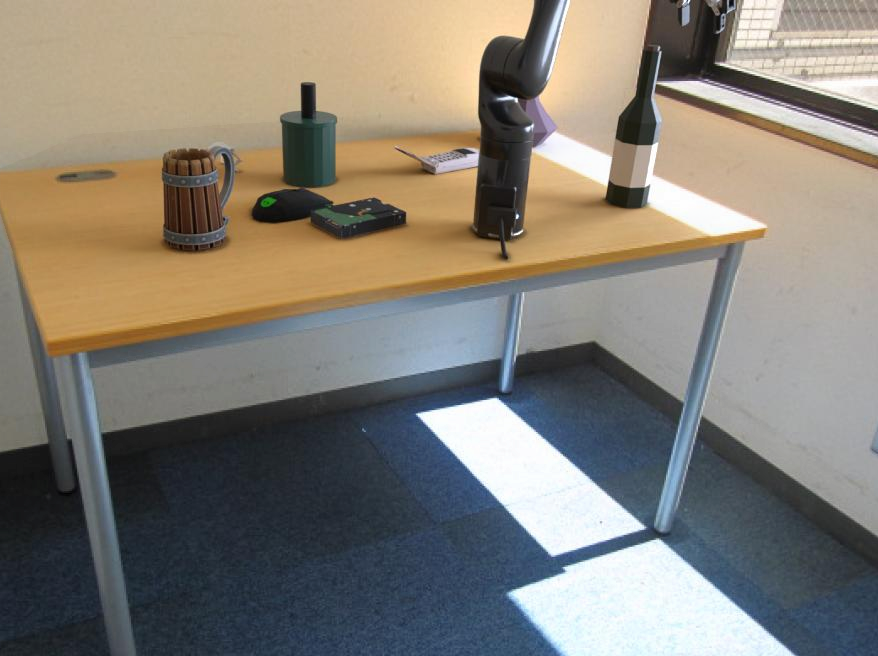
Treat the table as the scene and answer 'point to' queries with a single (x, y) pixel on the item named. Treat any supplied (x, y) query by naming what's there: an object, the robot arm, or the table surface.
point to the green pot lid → (308, 111)
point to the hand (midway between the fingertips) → (701, 28)
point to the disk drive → (357, 217)
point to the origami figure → (227, 148)
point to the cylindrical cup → (309, 156)
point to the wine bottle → (636, 139)
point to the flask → (538, 120)
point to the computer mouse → (287, 205)
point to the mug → (195, 198)
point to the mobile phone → (447, 160)
